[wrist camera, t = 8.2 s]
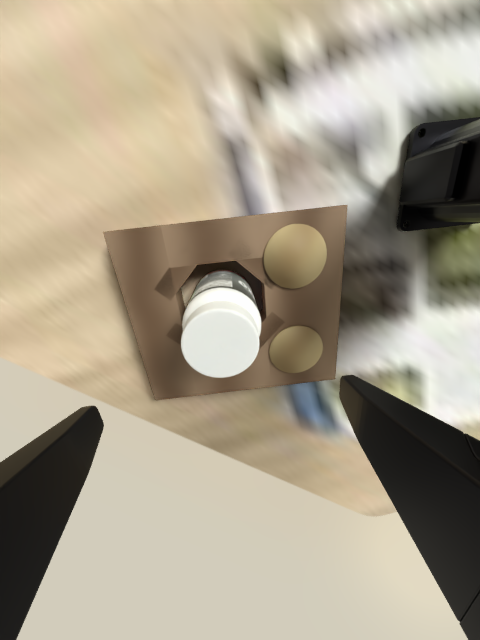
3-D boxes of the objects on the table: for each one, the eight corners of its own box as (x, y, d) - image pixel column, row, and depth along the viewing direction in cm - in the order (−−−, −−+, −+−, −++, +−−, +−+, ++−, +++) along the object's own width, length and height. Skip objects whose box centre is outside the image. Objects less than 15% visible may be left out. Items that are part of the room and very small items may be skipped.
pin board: (334, 206, 17) (348, 204, 15) (326, 366, 23) (336, 380, 21) (116, 230, 17) (101, 232, 15) (161, 385, 23) (154, 401, 21)
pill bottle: (257, 315, 20) (276, 373, 13) (205, 328, 21) (192, 393, 13) (244, 261, 19) (256, 291, 11) (186, 276, 19) (159, 316, 11)
